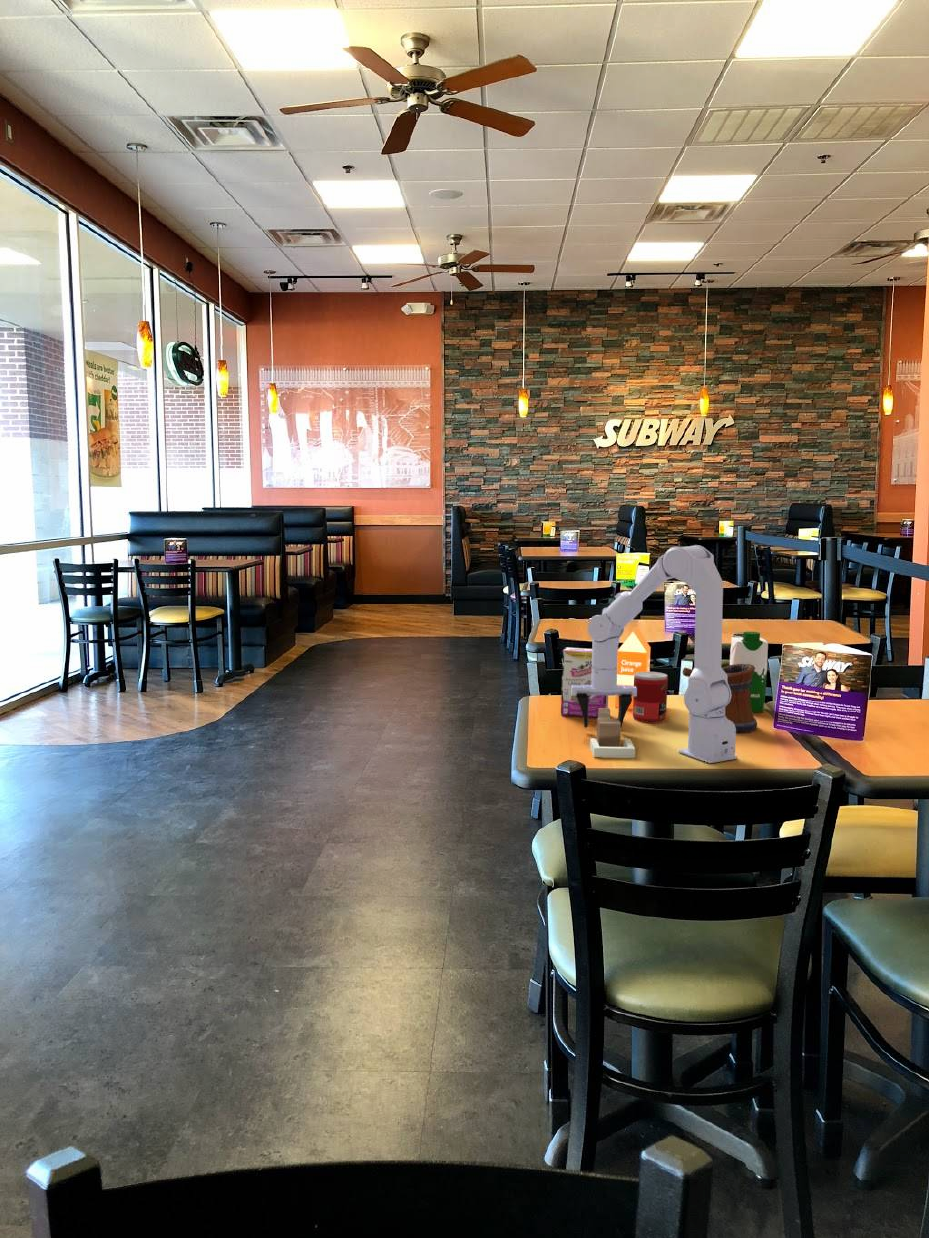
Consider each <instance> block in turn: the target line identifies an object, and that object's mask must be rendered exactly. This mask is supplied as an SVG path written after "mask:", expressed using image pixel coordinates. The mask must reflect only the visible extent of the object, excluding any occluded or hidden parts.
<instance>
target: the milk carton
mask: <svg viewBox="0 0 929 1238" xmlns="http://www.w3.org/2000/svg"><path fill="white" fill-rule="evenodd" d="M768 650H769V642H768V641H767V640H766V639H765V638H762V637H761V633H760V632H757V631H743V636H742V637H740V636H739V637H738V636H737V637H736V636H734V637H733V636H732V637H731V643H730V651H729V652H730V654H729V665H734V664H751V665H753V666H754V667H755V670H754V673H753V675H752V679H751V680H752V685H751V687H750V705H751V709H752V712H753V713H761V714H763V713H764V706H765V702H766V701H765V699H766V690H767V677H768V676H767V672H768Z"/></svg>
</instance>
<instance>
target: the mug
mask: <svg viewBox="0 0 929 1238" xmlns="http://www.w3.org/2000/svg"><path fill="white" fill-rule="evenodd" d="M721 668H722V669H723V670H724V672H725V673H726V674H727V680H728V685H729V687H730V689H731V700H730V702H729V704H728V705H727V706H725V716H726V718H727V719H728V720H730V721H732V722H733V723H734V725H735V728H736V733H752V732H754V731H755V730H757V728H758V721H757V719H756V718H755V717H754V712H752V709H751V705H750V687H751V685H752V680H751V679H752V675H753V673H754V670H755V667H754V666H753V665H751V664H734V665H730V664H729V665H727V666H722V667H721ZM692 671H693V669H691V668H689V667H684V668H683V669H682V675H683V676H684V677H687V678H689V677H690V675H691V673H692Z"/></svg>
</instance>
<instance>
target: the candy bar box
mask: <svg viewBox="0 0 929 1238" xmlns="http://www.w3.org/2000/svg"><path fill="white" fill-rule="evenodd" d="M561 671H562V673H561V697H560V716H564V717H565V716H568V717H579V718H581V717H582V718H583V715H582V711H581V708H580V705H579V702H578V700H577V697H576V696H573V695H572V694H571V686H572V685H591V678H592V648H583V647H581V648H580V647H565V648H564V649H563V650H562V669H561ZM587 696H588V700H589V701H588V718H591V719H597V718H598V708H609V695H587Z"/></svg>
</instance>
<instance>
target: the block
mask: <svg viewBox="0 0 929 1238" xmlns="http://www.w3.org/2000/svg"><path fill="white" fill-rule="evenodd" d="M596 740H597V742H598V744H599V747H621V723H620V721H619V719H618V717H617V718H616V717H615V718H614V717H613V718H612V717H611V710H610V708H609V707H608V708H598V718H596Z"/></svg>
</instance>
